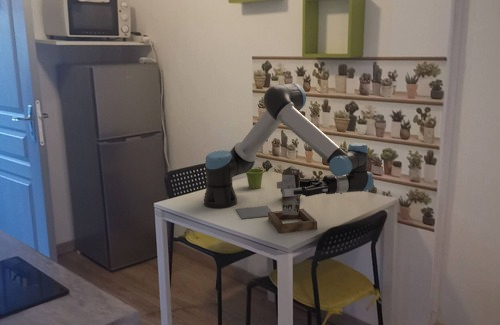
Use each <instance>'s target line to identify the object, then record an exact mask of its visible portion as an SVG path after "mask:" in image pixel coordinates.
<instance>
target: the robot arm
mask: <svg viewBox="0 0 500 325" xmlns="http://www.w3.org/2000/svg"><path fill="white" fill-rule="evenodd" d="M306 102H307V94H306V91H305V89H304V88H303V87H302V85H300V84H299V83H295V82H293V83H292V82H289V83H284V84H277V85H273V86H270V87H269V88H268V89H267V90H266V91H265V93H264V95H263V106H264V108H265V111H264V113H263V114H262V115H261V116H260V118H258V120H257V122H256V123H254V125H253V127H252V128H251V129H250V131H249V132H248V133H247V134H246V136H245V137H244V138H243V139H242V141H239V142H236V143H235V144H234V146H233V147H232V148H231V150H230V151H229V150H222V149H221V150H217V151H212V152H210V153H208V154H207V155H206V157H205V162H204V164H205V165H204V166H205V177H206V179H205V180H206V190H205V194H204V197H203V205H204V206H205V207H207V208H213V209H223V208H224V209H225V208H230V207H234V206H236V205H237V203H238V197H237V194H236V193H235V189H234V186H233V178H234V177H236V176H240V175H243V174H246V172H248V171H250V170H251V169H254V167H255V163H256V159H257V153H258V152H259V151H260V150H261V149H262V147H263V146H264V145H265V143H266V142H267V141H268V140H269V139H270V138H271V136H272V135H273V134H274V133H275V131H276V130H277V129H278V128H279V126H280V125H281V124H283V126H286V127H287V129H289V130H290V131H291V132H292V133H293V134H295V136H297V137H298V138H299V139H300V140H301V141H302V142H304V143H305V144H306V145H307V146H308V147H309V148H310V149H311V150H312V151H314V152H315V153H316V154H317V155H318V156H320V158H321V159H323V160H324V161H325V162H326V164H328V169H329V170H330V173H331V174H327V175H324V176H323V178H322V180H320V179H318V178H316V177H313V178H301V179H300V187H302V190H301V188H291V189H284V196H296V195H301V196H305V197H312V196H316V195H317V196H318V195H322V194H326V195H335V194H340V195H342V194H343V193H344V194H345V193H355V192H356V193H357V192H360V193H361V192H366V191H370V190H372V189H373V187H374V181H375V180H374V176H373V174H372V172H370V171H368V158H369V157H368V156H369V151H368V149H369V148H368V145H367V144H366V143H363V142H352V143H350V144H348V148H347V151H344V150H343V149H342V148H341V147H340V146H339V145H338V144H336V142H334V141H333V140H332V139H330V138H329V136H327V135H326V133H324V132H323V131H322V130H321V129H319V127H317V126H316V125H314V123H313V122H311V121H310V120H309V118H307V117H306V116H305V115H303V114H302V113H301V112H300V111H299V110H301V109H303V108H304V107H305V105H306ZM281 188H282V180H281V181H276V189H277V190H279V189H280V190H281Z"/></svg>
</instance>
